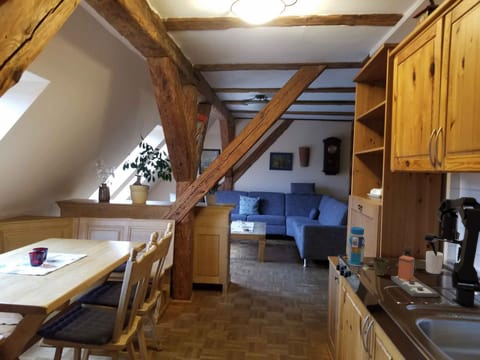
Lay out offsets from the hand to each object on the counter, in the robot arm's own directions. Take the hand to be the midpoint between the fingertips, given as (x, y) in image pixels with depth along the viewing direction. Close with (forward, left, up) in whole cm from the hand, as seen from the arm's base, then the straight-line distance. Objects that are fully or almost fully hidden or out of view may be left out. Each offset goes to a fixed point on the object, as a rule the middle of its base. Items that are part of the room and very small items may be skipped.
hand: (446, 258), depth 157 cm
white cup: (+16, -4, -12) cm, 21 cm away
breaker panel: (-6, +18, -12) cm, 23 cm away
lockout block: (+1, +18, -10) cm, 21 cm away
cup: (+9, +27, -12) cm, 31 cm away
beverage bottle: (+25, +33, -12) cm, 44 cm away
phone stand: (+20, +8, -12) cm, 25 cm away
